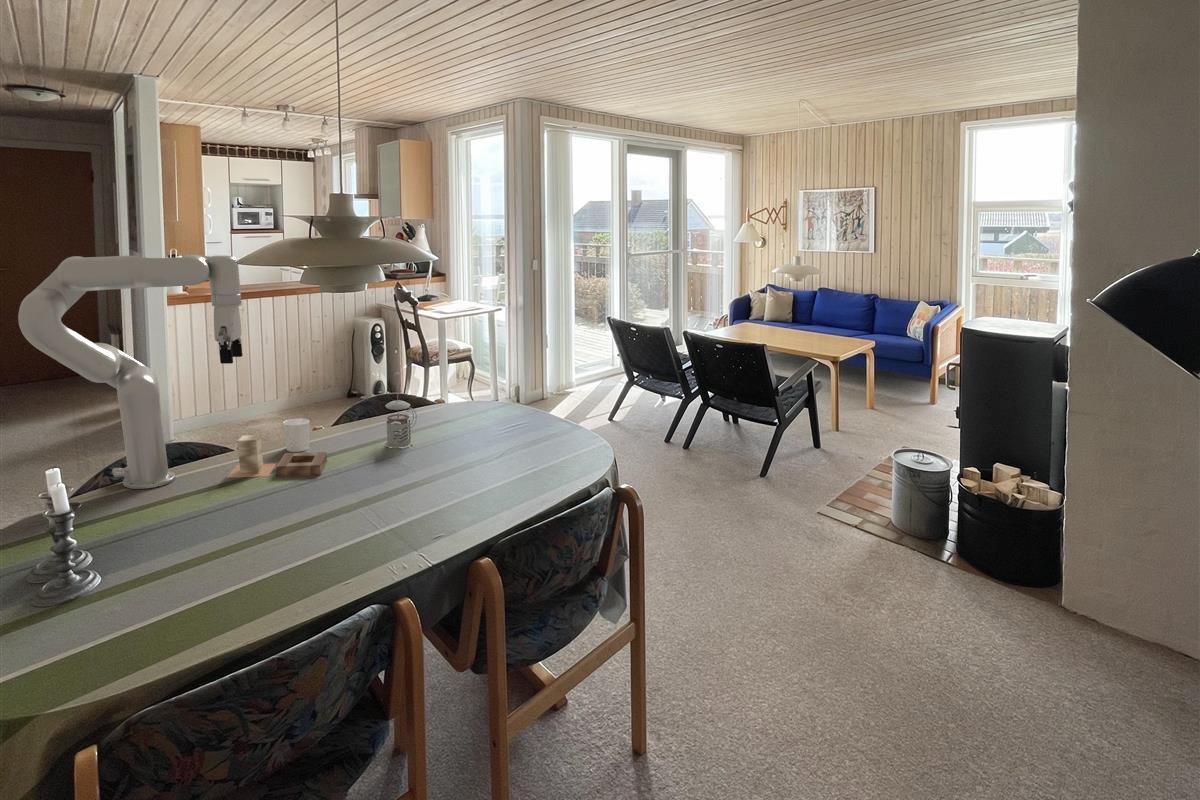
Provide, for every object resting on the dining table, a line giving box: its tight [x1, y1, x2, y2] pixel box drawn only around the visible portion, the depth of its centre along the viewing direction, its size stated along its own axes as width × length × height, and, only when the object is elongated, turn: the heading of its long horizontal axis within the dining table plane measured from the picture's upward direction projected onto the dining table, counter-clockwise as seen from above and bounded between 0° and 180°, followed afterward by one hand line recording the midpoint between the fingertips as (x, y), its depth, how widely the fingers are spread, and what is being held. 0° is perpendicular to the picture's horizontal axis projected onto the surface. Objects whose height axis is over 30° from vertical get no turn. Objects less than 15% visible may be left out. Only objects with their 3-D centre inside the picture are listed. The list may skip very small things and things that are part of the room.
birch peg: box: [237, 434, 264, 473], centre depth 211 cm, size 5×5×10 cm
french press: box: [384, 371, 418, 448], centre depth 242 cm, size 10×12×25 cm
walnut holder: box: [275, 451, 328, 477], centre depth 215 cm, size 12×12×4 cm
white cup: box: [282, 417, 311, 453], centre depth 232 cm, size 8×8×10 cm
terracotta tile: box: [226, 462, 277, 479], centre depth 213 cm, size 11×11×1 cm
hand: (231, 359), depth 207 cm, fingers open, 9 cm apart
